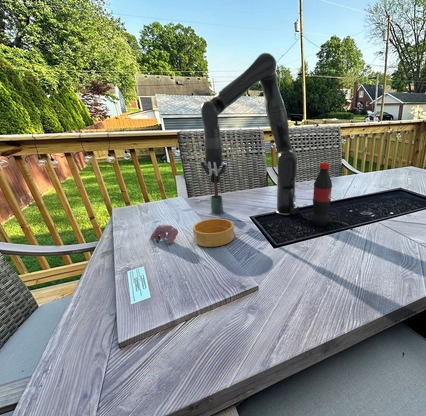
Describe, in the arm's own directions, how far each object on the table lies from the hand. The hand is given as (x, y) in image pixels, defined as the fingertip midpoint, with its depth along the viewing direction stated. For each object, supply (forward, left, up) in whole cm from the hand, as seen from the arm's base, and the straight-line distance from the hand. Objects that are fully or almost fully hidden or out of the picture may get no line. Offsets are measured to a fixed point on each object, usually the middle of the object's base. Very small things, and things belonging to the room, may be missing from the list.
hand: (215, 182), depth 129 cm
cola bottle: (-53, -1, -16) cm, 55 cm away
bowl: (-13, +27, -16) cm, 34 cm away
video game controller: (+5, +33, -17) cm, 37 cm away
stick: (0, 0, -15) cm, 15 cm away
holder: (0, 0, -16) cm, 16 cm away
